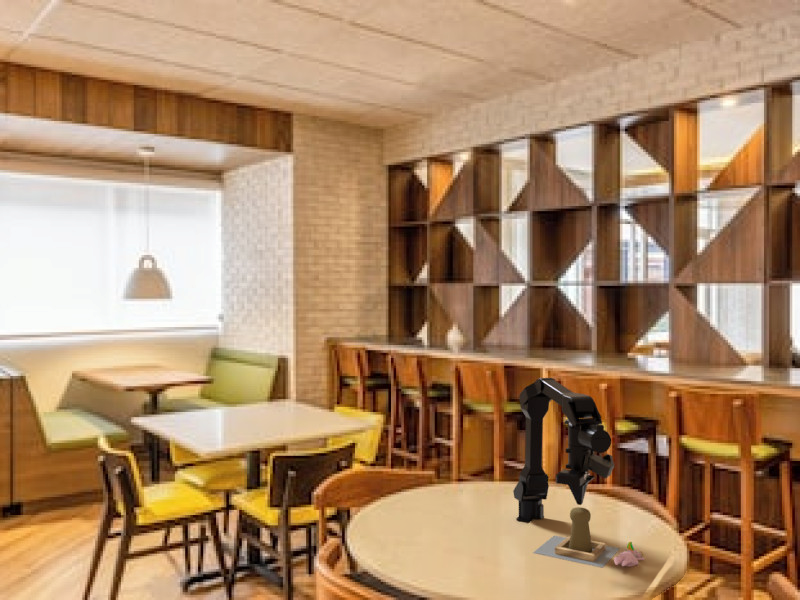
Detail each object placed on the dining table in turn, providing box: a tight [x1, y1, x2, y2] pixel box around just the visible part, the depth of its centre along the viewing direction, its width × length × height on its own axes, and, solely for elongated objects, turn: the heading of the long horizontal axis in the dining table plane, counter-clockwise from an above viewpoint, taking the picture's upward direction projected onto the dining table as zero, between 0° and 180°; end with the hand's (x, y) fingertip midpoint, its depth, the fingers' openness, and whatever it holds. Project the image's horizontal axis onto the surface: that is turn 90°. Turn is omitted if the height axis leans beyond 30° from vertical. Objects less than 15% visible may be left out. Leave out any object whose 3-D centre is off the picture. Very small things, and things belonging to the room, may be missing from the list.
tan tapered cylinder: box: [569, 506, 592, 553], centre depth 176 cm, size 6×6×11 cm
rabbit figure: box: [613, 541, 645, 567], centre depth 169 cm, size 6×6×15 cm
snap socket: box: [555, 535, 607, 562], centre depth 176 cm, size 10×10×2 cm
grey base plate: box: [532, 535, 621, 568], centre depth 177 cm, size 18×15×1 cm
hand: (579, 504), depth 177 cm, fingers closed
